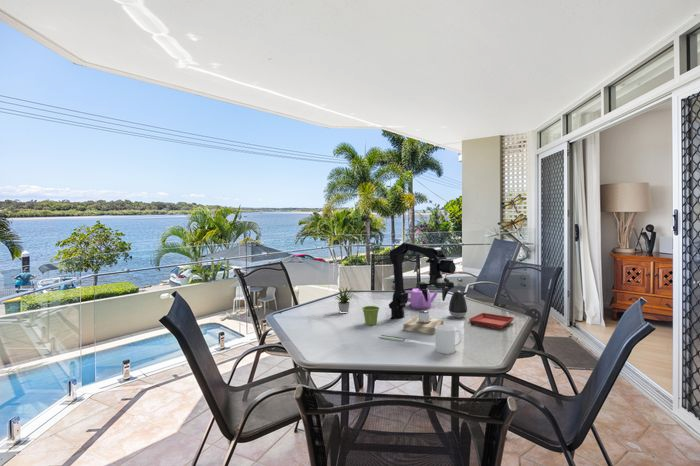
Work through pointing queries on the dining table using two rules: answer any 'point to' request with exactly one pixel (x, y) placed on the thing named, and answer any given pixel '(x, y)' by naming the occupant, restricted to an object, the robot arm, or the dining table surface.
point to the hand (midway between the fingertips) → (435, 301)
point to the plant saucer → (491, 320)
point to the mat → (392, 338)
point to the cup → (446, 339)
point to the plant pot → (370, 314)
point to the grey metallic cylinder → (424, 317)
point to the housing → (422, 325)
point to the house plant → (344, 300)
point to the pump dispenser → (458, 304)
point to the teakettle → (420, 299)
